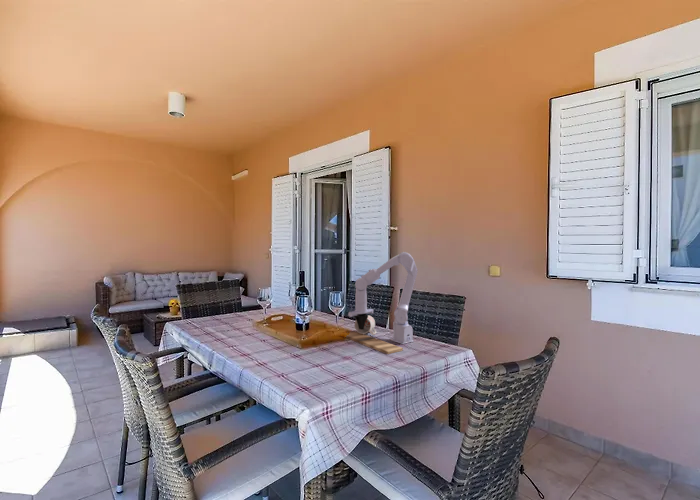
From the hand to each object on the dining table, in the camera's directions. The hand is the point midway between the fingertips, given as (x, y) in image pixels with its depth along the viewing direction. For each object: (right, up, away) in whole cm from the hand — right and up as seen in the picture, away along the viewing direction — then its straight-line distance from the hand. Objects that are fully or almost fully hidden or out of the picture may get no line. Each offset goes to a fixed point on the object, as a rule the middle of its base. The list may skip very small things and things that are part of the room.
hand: (361, 329), depth 184 cm
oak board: (+9, -6, -12) cm, 16 cm away
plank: (-2, -5, +3) cm, 6 cm away
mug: (+5, -1, +17) cm, 18 cm away
